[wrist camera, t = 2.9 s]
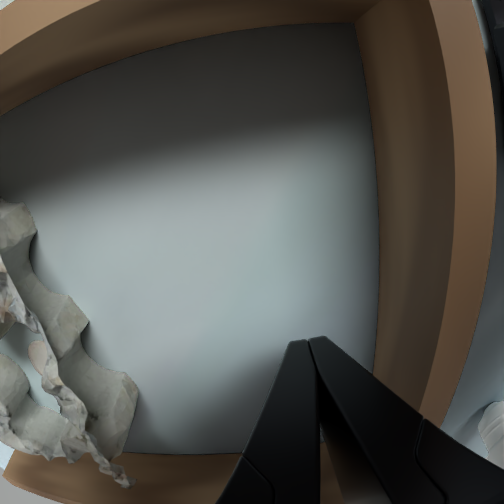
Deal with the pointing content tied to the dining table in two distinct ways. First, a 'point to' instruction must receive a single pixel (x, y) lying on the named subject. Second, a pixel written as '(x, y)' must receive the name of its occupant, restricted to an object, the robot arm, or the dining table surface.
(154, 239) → the dining table surface
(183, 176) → the dining table surface
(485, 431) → the lightbulb
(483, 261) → the open wooden frame
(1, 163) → the dining table surface
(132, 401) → the egg carton
